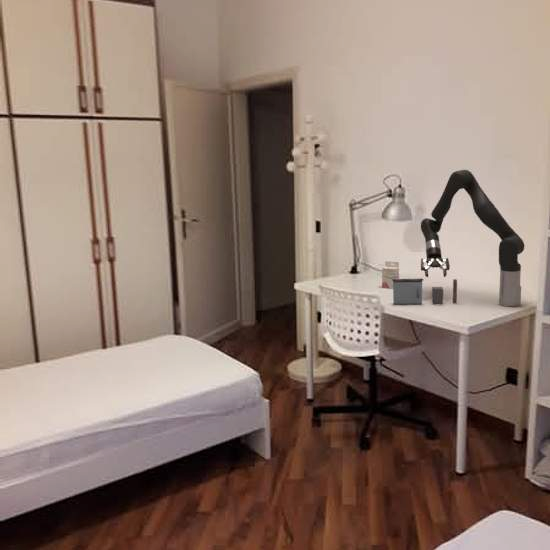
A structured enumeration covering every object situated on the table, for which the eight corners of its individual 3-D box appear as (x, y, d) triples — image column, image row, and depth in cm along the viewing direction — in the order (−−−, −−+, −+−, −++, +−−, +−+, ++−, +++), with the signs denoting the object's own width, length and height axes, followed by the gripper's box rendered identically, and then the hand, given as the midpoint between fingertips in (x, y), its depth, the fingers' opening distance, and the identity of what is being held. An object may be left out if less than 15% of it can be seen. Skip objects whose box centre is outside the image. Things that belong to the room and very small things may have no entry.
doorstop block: (441, 302, 292) (441, 286, 290) (442, 304, 287) (443, 288, 286) (432, 302, 293) (432, 286, 291) (433, 304, 288) (433, 289, 286)
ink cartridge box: (381, 287, 329) (381, 262, 326) (385, 286, 333) (385, 261, 330) (395, 289, 325) (395, 263, 322) (399, 287, 329) (399, 261, 326)
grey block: (421, 302, 290) (422, 281, 288) (422, 304, 288) (422, 282, 286) (393, 303, 292) (393, 281, 290) (393, 304, 290) (393, 282, 288)
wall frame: (455, 302, 290) (456, 277, 287) (457, 304, 287) (457, 278, 284) (392, 302, 295) (392, 278, 292) (392, 304, 291) (392, 279, 289)
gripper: (420, 246, 300) (422, 272, 291) (448, 246, 298) (451, 272, 289) (418, 255, 306) (421, 280, 297) (446, 254, 304) (449, 280, 295)
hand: (436, 276), depth 293 cm, fingers open, 8 cm apart
